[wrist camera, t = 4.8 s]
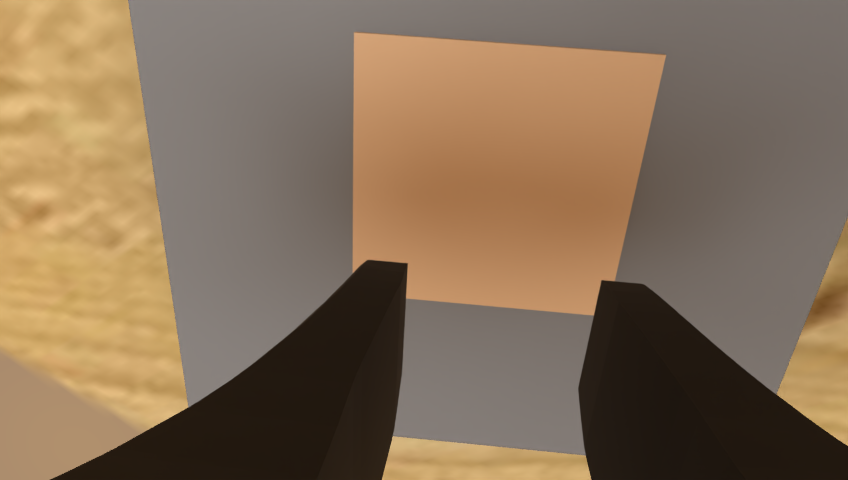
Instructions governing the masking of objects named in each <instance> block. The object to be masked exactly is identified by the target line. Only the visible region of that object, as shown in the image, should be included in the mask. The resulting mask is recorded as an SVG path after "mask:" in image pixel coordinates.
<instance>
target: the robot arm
mask: <svg viewBox="0 0 848 480" xmlns="http://www.w3.org/2000/svg"><path fill="white" fill-rule="evenodd" d="M407 270H408V263H400V262H389V261H377V260H367V261H365V262H364V263H363V264H362V265H360V266H359V267H358V268H357V269H356V270H355V272H354V273H353V274H352V275H351V276H350V277H349V278H348V279H347V280H346V281H345V282H344V283H343V284H342V285H341V286H340V287H339V288H338V289H337V290H336V291H335V292H334V293H333V294H332V295H331V296H330V297H329V298H328V299H327V300H326V301H325V302H324V303H323V304H322V305H321V306H320V307H319V308H317V309H316V310H315V311H314V312H313V313H312V314H311V315H310V316H309V317H308V318H307V319H306V320H304V321H303V322H302V323H301V324H300V325H299V326H298V327H297V328H296V329H295V330H293V331H292V332H291V333H290V334H289V335H288V336H286V337H285V338H284V339H283V340H281V341H280V342H279V343H278V344H276V345H275V346H274V347H273V348H272V349H270V350H269V351H268V352H267V353H265V354H264V355H263V356H262V357H260V358H259V359H258V360H257V361H256V362H254V363H253V364H252V365H250V366H249V367H248V368H246V369H245V370H244V371H242V372H241V373H240V374H238V375H237V376H235V377H234V378H233V379H231V380H230V381H228V382H227V383H226V384H224V385H222V386H221V387H219V388H218V389H216V390H215V391H213V392H212V393H210V394H209V395H207V396H206V397H204V398H203V399H201V400H200V401H198V402H196V403H195V404H193V405H191V406H190V407H188V408H187V409H185V410H183V411H181V412H180V413H178V414H176V415H174V416H172V417H171V418H169V419H167V420H165V421H163V422H162V423H160V424H158V425H156V426H154V427H153V428H151V429H149V430H147V431H145V432H144V433H142V434H140V435H138V436H136V437H135V438H133V439H131V440H129V441H128V442H126V443H124V444H122V445H121V446H118V447H117V448H115V449H113V450H111V451H109V452H107V453H105V454H104V455H101V456H99V457H97V458H95V459H93V460H91V461H89V462H86V463H84V464H82V465H80V466H78V467H76V468H74V469H72V470H70V471H68V472H66V473H64V474H62V475H59V476H57V477H55V478H53V479H51V480H382V476H383V472H384V468H385V465H386V461H387V457H388V453H389V449H390V445H391V441H392V437H393V433H394V428H395V421H396V414H397V407H398V399H399V392H400V385H401V377H402V366H403V347H404V328H405V309H406V289H407ZM578 394H579V404H580V414H581V424H582V433H583V441H584V449H585V454H586V458H587V462H588V467H589V471H590V475H591V479H592V480H848V446H847V445H845V444H844V443H842V442H841V441H839V440H838V439H836V438H835V437H833V436H832V435H830V434H829V433H828V432H826V431H825V430H823V429H822V428H821V427H819V426H818V425H816V424H815V423H813V422H812V421H811V420H809V419H808V418H807V417H805V416H804V415H803V414H801V413H800V412H799V411H797V410H796V409H795V408H793V407H792V406H791V405H789V404H788V403H787V402H786V401H784V400H783V399H782V398H780V397H779V396H778V395H776V394H775V393H774V392H772V391H771V390H770V389H768V388H767V387H766V386H765V385H763V384H762V383H761V382H760V381H758V380H757V379H756V378H755V377H753V376H752V375H751V374H750V373H748V372H747V371H746V370H745V369H743V368H742V367H741V366H740V365H739V364H737V363H736V362H735V361H734V360H733V359H731V358H730V357H729V356H728V355H727V354H725V353H724V352H723V351H722V350H721V349H720V348H718V347H717V346H716V345H715V344H714V343H713V342H711V341H710V340H709V339H708V338H707V337H706V336H704V335H703V334H702V333H701V332H700V331H699V330H698V329H696V328H695V327H694V326H693V325H692V324H691V323H690V322H688V321H687V320H686V319H685V318H684V317H683V316H682V315H680V314H679V313H678V312H677V311H676V310H675V309H674V308H672V307H671V306H670V305H669V304H668V303H667V302H666V301H664V300H663V299H662V298H661V297H660V296H658V295H657V294H656V293H655V292H654V291H652V290H651V289H650V288H648V287H647V286H646V285H644V284H640V283H629V282H617V281H606V280H601V285H600V289H599V294H598V298H597V303H596V308H595V312H594V317H593V322H592V326H591V331H590V335H589V340H588V345H587V349H586V354H585V359H584V363H583V368H582V372H581V377H580V382H579V386H578Z"/></svg>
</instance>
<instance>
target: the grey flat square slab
mask: <svg viewBox="0 0 848 480" xmlns="http://www.w3.org/2000/svg"><path fill="white" fill-rule="evenodd" d="M128 2H129V9H130V16H131V22H132V29H133V36H134V43H135V49H136V56H137V63H138V70H139V76H140V83H141V90H142V97H143V103H144V110H145V117H146V124H147V130H148V137H149V144H150V151H151V157H152V164H153V171H154V178H155V184H156V191H157V198H158V205H159V211H160V218H161V225H162V231H163V238H164V245H165V252H166V258H167V265H168V272H169V279H170V285H171V292H172V299H173V306H174V312H175V319H176V326H177V333H178V339H179V346H180V353H181V360H182V366H183V373H184V380H185V387H186V393H187V400H188V407H190V406H191V405H193V404H195V403H196V402H198V401H200V400H201V399H203V398H204V397H206V396H207V395H209V394H210V393H212V392H213V391H215V390H216V389H218V388H219V387H221V386H222V385H224V384H226V383H227V382H228V381H230V380H231V379H233V378H234V377H235V376H237V375H238V374H240V373H241V372H242V371H244V370H245V369H246V368H248V367H249V366H250V365H252V364H253V363H254V362H256V361H257V360H258V359H259V358H260V357H262V356H263V355H264V354H265V353H267V352H268V351H269V350H270V349H272V348H273V347H274V346H275V345H276V344H278V343H279V342H280V341H281V340H283V339H284V338H285V337H286V336H288V335H289V334H290V333H291V332H292V331H293V330H295V329H296V328H297V327H298V326H299V325H300V324H301V323H302V322H303V321H304V320H306V319H307V318H308V317H309V316H310V315H311V314H312V313H313V312H314V311H315V310H316V309H317V308H319V307H320V306H321V305H322V304H323V303H324V302H325V301H326V300H327V299H328V298H329V297H330V296H331V295H332V294H333V293H334V292H335V291H336V290H337V289H338V288H339V287H340V286H341V285H342V284H343V283H344V282H345V281H346V280H347V279H348V278H349V277H350V276H351V275H352V274H353V273H354V272H355V270H356V269H357V268H358V267H359V266H360V265H362V264H363V263H364V262H365V261H367V260H377V261H389V262H400V263H408V270H407V289H406V309H405V328H404V347H403V366H402V377H401V385H400V392H399V399H398V407H397V414H396V421H395V428H394V433H393V436H397V437H407V438H417V439H427V440H437V441H447V442H457V443H467V444H477V445H487V446H497V447H507V448H517V449H527V450H537V451H547V452H557V453H567V454H577V455H586V454H585V449H584V441H583V433H582V424H581V414H580V404H579V394H578V386H579V382H580V377H581V372H582V368H583V363H584V359H585V354H586V349H587V345H588V340H589V335H590V331H591V326H592V322H593V317H594V312H595V308H596V303H597V298H598V294H599V289H600V285H601V280H606V281H617V282H629V283H640V284H644V285H646V286H647V287H648V288H650V289H651V290H652V291H654V292H655V293H656V294H657V295H658V296H660V297H661V298H662V299H663V300H664V301H666V302H667V303H668V304H669V305H670V306H671V307H672V308H674V309H675V310H676V311H677V312H678V313H679V314H680V315H682V316H683V317H684V318H685V319H686V320H687V321H688V322H690V323H691V324H692V325H693V326H694V327H695V328H696V329H698V330H699V331H700V332H701V333H702V334H703V335H704V336H706V337H707V338H708V339H709V340H710V341H711V342H713V343H714V344H715V345H716V346H717V347H718V348H720V349H721V350H722V351H723V352H724V353H725V354H727V355H728V356H729V357H730V358H731V359H733V360H734V361H735V362H736V363H737V364H739V365H740V366H741V367H742V368H743V369H745V370H746V371H747V372H748V373H750V374H751V375H752V376H753V377H755V378H756V379H757V380H758V381H760V382H761V383H762V384H763V385H765V386H766V387H767V388H768V389H770V390H771V391H772V392H774V393H775V394H777V391H778V389H779V386H780V384H781V381H782V379H783V376H784V374H785V371H786V369H787V366H788V364H789V361H790V359H791V356H792V354H793V351H794V349H795V346H796V344H797V341H798V339H799V337H800V334H801V332H802V329H803V327H804V324H805V322H806V319H807V317H808V314H809V312H810V309H811V307H812V304H813V302H814V299H815V297H816V294H817V292H818V289H819V287H820V284H821V282H822V279H823V277H824V274H825V272H826V269H827V267H828V265H829V262H830V260H831V257H832V255H833V252H834V250H835V247H836V245H837V242H838V240H839V237H840V235H841V232H842V230H843V227H844V225H845V222H846V220H847V217H848V0H128Z"/></svg>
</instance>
